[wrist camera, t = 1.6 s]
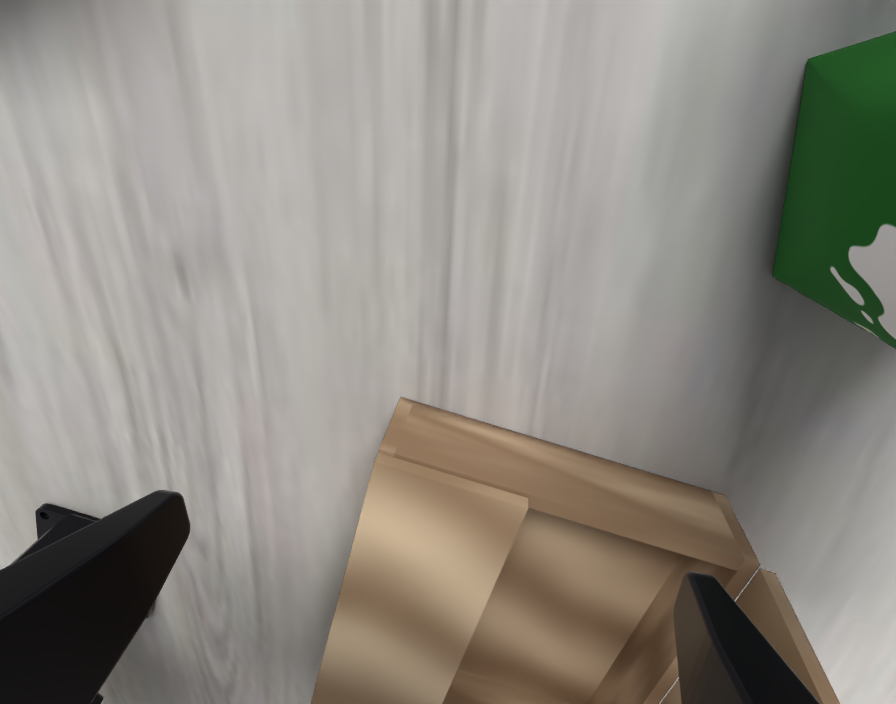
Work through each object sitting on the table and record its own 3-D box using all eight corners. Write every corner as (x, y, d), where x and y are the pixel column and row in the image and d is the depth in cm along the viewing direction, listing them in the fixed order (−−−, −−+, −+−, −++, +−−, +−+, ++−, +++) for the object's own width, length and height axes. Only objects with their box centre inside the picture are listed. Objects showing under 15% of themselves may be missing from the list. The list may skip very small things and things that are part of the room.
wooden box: (589, 706, 31) (598, 785, 28) (337, 629, 31) (312, 699, 28) (725, 495, 24) (760, 564, 21) (400, 396, 24) (379, 448, 21)
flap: (425, 734, 27) (423, 747, 27) (312, 699, 27) (308, 711, 27) (528, 498, 21) (528, 508, 20) (378, 452, 21) (374, 461, 20)
